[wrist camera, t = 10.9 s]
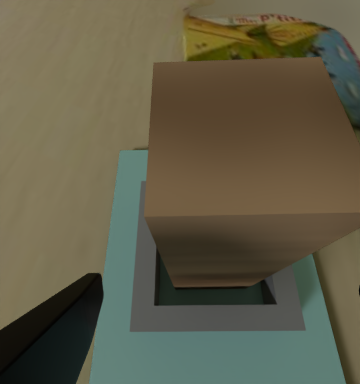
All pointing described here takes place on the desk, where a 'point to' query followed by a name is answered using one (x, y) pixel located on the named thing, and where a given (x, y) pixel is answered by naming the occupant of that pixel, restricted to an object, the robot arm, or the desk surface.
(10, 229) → the desk surface
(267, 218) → the peg
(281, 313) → the holder
